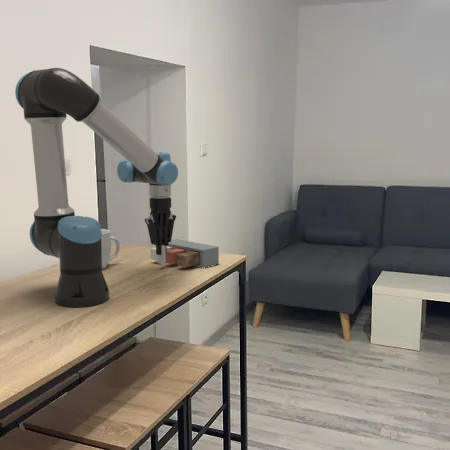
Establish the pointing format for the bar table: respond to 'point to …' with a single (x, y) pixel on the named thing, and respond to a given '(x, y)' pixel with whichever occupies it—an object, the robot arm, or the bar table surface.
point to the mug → (107, 247)
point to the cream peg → (154, 255)
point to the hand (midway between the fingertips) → (161, 263)
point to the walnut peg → (188, 259)
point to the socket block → (207, 252)
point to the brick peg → (173, 255)
